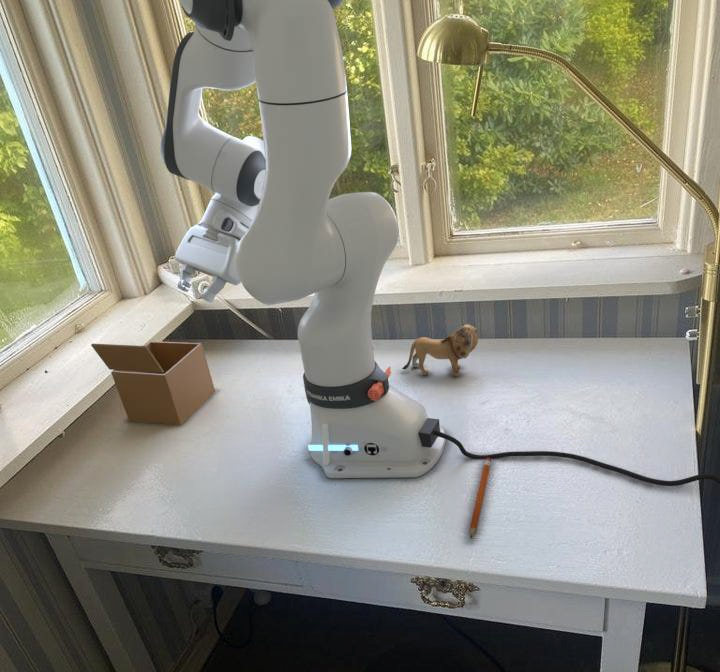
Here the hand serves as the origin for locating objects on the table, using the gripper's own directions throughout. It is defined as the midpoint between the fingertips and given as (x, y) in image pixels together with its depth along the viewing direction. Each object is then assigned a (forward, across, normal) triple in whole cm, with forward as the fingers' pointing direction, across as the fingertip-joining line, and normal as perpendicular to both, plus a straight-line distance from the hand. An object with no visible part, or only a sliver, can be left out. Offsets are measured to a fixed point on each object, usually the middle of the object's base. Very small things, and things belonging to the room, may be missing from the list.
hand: (193, 295), depth 135 cm
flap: (+15, +4, -9) cm, 18 cm away
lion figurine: (-9, +32, +36) cm, 49 cm away
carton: (+21, 0, +6) cm, 22 cm away
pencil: (+9, +65, +18) cm, 68 cm away
